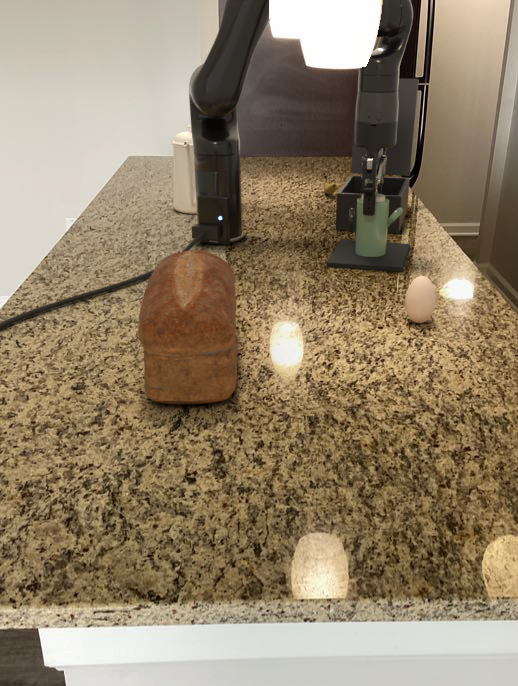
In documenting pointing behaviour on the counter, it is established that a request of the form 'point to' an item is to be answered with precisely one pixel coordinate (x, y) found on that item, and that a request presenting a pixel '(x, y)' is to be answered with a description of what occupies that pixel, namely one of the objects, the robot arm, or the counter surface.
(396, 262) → the mat
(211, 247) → the counter surface
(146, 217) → the counter surface
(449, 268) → the counter surface
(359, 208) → the kettle
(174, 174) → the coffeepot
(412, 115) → the storage bin lid
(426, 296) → the egg
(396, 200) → the dark gray storage bin
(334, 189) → the banana
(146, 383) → the bread
